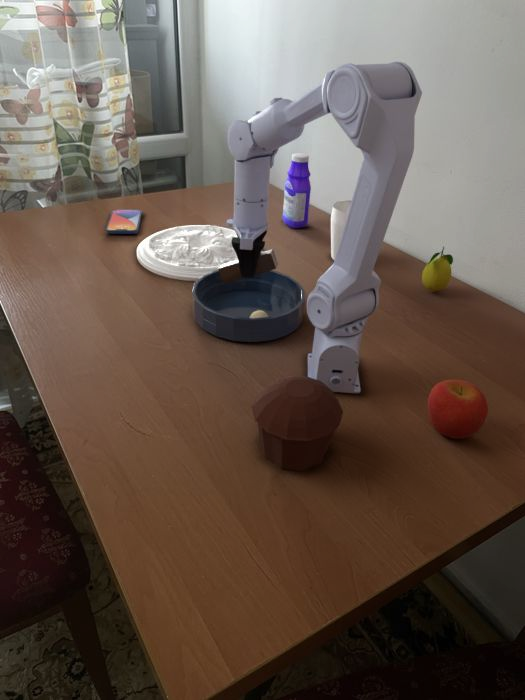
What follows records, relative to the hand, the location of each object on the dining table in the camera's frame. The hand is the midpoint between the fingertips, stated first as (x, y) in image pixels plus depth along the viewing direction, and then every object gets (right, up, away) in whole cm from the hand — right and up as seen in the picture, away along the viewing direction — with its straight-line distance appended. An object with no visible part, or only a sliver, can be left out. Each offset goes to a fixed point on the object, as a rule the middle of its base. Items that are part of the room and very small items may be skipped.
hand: (248, 271), depth 98 cm
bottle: (+11, +18, +43) cm, 48 cm away
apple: (+29, -26, -21) cm, 44 cm away
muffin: (+7, -27, -25) cm, 38 cm away
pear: (+38, -2, +15) cm, 41 cm away
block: (0, -1, 0) cm, 1 cm away
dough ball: (+2, -9, -3) cm, 10 cm away
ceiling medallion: (-12, +8, +25) cm, 29 cm away
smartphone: (-32, +17, +37) cm, 52 cm away
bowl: (0, -8, +3) cm, 8 cm away
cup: (+22, +7, +27) cm, 35 cm away
